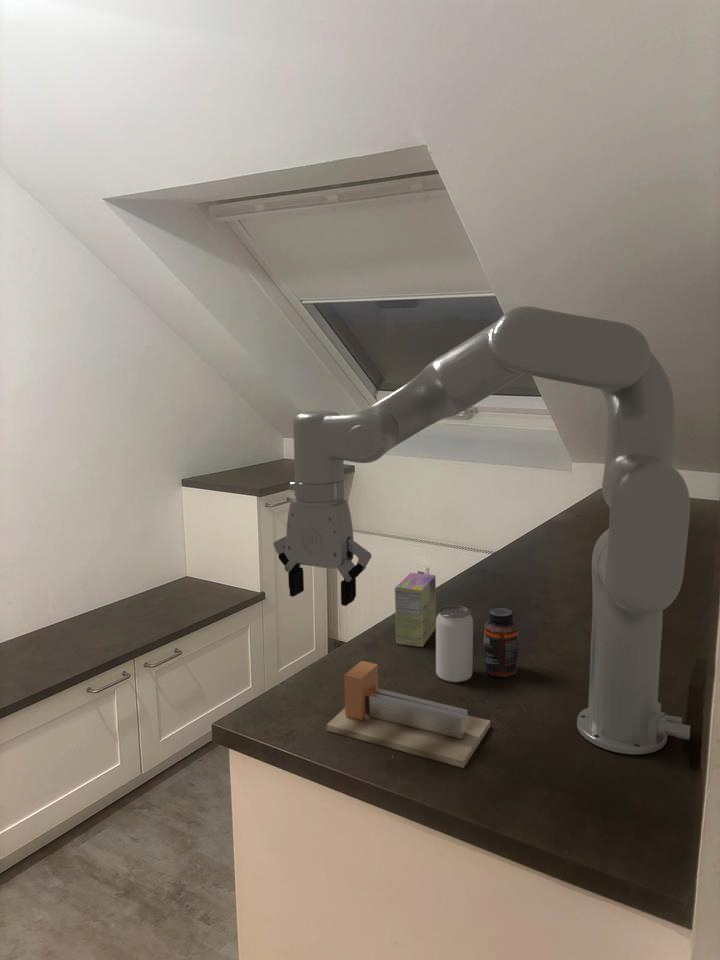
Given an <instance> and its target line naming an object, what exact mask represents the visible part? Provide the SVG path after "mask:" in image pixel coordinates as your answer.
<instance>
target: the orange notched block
mask: <svg viewBox="0 0 720 960" xmlns="http://www.w3.org/2000/svg"><path fill="white" fill-rule="evenodd" d="M343 677H344V678H343V679H344V680H343V681H344V682H343V683H344V708H345V716H348V717H352V718H355V719H359V720H363V719H364V718H365V696H369V695H370V694H371V693H372V692H373V693H374V691H375V690H376V689H377V688H379V664H377V663H373V662H369V661H363V660H361V661H359V662H358V663H356V664H355V666H353V667H352V668H351V669H350V670H348V671H347V672H346V673H345V674H344V676H343Z"/></svg>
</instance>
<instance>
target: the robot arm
mask: <svg viewBox="0 0 720 960" xmlns="http://www.w3.org/2000/svg"><path fill="white" fill-rule="evenodd" d="M526 375H528V376H533V377H537V378H542V379H546V380H549V381H550V380H552V381H557V382H563V383H568V384H572V385H579V386H582V387H589V388H594V389H597V390H600V391H601V393H602V395H603V397H604V399H605V402H606V406H607V417H608V418H607V439H606V440H607V441H606V450H605V458H604V459H605V460H604V469H603V478H602V484H601V488H602V489H601V490H602V491H601V493H602V496H603V498H604V501H605V504H606V505H607V506H608V508H609V524H608V528H607V530H605V531H604V532H603V533H602V534H601V535H600V536H599V537H598V539H597V540H596V542H595V544H594V547H593V551H592V554H591V578H592V579H591V582H592V587H591V588H592V616H591V617H592V618H591V631H590V632H591V633H590V634H591V635H590V637H591V638H590V639H591V640H590V660H589V680H588V681H589V682H588V683H589V687H588V707H586V708H584V709H583V710H581V711H580V712H579V713H578V715H577V718H576V727H577V730H578V732H579V733H580V735H581V736H583V738H584V739H585V740H587V741H588V742H589V743H591V744H593V745H595V746H597V747H599V748H602V749H604V750H606V751H611V752H614V753H618V754H619V753H620V754H624V755H646V754H648V755H649V754H652V753H655V752H657V751H659V750H661V749H663V747H665V746H666V744H667V740H668V736H672V737H675V738H678V739H683V740H688V741H690V738H691V737H690V735H691V725H689V724H688V725H687V724H683V717H680V716H676V715H675V716H674V715H668V714H665V712H663V711H661V708H662V704H661V702H658V698H659V684H660V682H659V679H660V665H661V648H662V638H663V637H662V636H663V615H664V614H663V611H664V610H665V609H667V608H668V607H669V606H671V604H673V602H674V601H675V600H676V599H677V597H678V594H679V592H680V590H681V587H682V583H683V579H684V575H685V574H684V573H685V564H686V557H687V547H688V537H689V536H688V535H689V525H690V514H691V500H690V494H689V488H688V485H687V483H686V480H685V479H684V478H683V476H682V474H681V473H680V472H679V470H677V469H676V468H675V467H674V466H673V449H674V432H675V431H674V426H675V400H674V393H673V389H672V385H671V382H670V379H669V378H668V375H667V373H666V371H665V369H664V368H663V366H662V365H661V363H660V361H659V360H658V359H657V358H656V356H655V355H654V354H653V353H652V352H651V349H650V345H649V343H648V341H647V338H646V337H645V336H644V334H642V332H641V331H639V329H637V328H636V327H634V326H632V325H630V324H628V323H624V322H620V321H614V320H608V319H607V320H606V319H601V318H595V317H591V316H584V315H578V314H577V315H576V314H571V313H565V312H560V311H555V310H549V309H546V308H539V307H536V306H535V307H534V306H524V305H523V306H518V307H515V308H512V309H510V310H509V311H507V312H505V313H504V314H503V315H502V316H501V317H500V318H499V319H498V320H497V321H495V322H493V323H492V324H490V325H488V326H487V327H485V328H484V329H482V330H480V331H479V332H477V333H476V334H473V336H471V337H469V338H468V339H466V340H465V341H463V342H462V343H460V344H459V345H457V346H455V347H454V348H452V349H450V350H448V351H447V352H445V353H444V354H441V356H439V357H437V358H435V359H433V361H431V362H430V363H429V364H427V365H426V366H425V367H424V368H423V369H422V370H421V371H420V372H419V374H418V375H416V376H415V377H414V378H412V379H411V380H410V381H409V382H407V383H406V384H404V385H402V386H401V387H399V388H398V389H397V390H395V391H393V392H392V393H390V394H389V395H387V396H386V397H384V398H382V399H380V400H379V401H377V402H376V403H374V404H372V405H371V406H369V407H367V408H365V409H362V410H360V411H357V412H353V413H352V412H351V413H347V414H339V413H338V412H336V411H329V410H310V411H309V410H308V411H307V410H306V411H302V412H299V413H297V415H295V417H294V419H293V426H292V427H293V456H294V458H293V459H294V461H293V463H294V481H290V483H289V485H288V488H289V490H290V491H293V492H294V497H295V498H293V499H291V500H290V502H289V508H288V511H287V512H288V513H287V521H286V530H285V531H286V535H284V537H282V538H279V539H278V540H276V541H274V542H273V547H274V549H275V552H276V554H278V559H279V561H280V562H281V563H282V565H283V566H284V570H285V572H286V573H287V575H288V577H287V578H288V588H289V596H290V597H292V598H294V597H296V596H297V595H299V594H301V593H302V592H304V590H305V588H304V587H305V586H304V583H305V582H304V569H303V567H301V566H302V565H303V566H304V565H305V566H310V567H316V568H317V567H318V568H323V569H330V570H335V569H337V571H338V572H339V574H340V575H341V576H342V578H343V580H341V581H340V604H341V605H342V606H344V607H347V606H348V605H349V604H352V603H353V602H355V599H356V597H357V578H358V577H359V575H360V574H361V573H362V572H364V571H365V569H366V568H367V565H368V564H369V562H370V560H371V559H372V554H371V552H370V551H368V550H367V549H366V548H364V547H363V546H361V545H360V544H359V543H357V541H355V540H354V530H353V522H352V516H351V510H350V506H349V503H348V500H346V499H345V481H344V479H345V477H344V475H345V471H344V468H345V467H344V466H345V465H344V461H346V462H352V463H359V464H369V463H372V462H375V461H378V460H379V459H381V458H382V457H383V456H384V455H386V453H387V452H389V451H390V450H391V449H393V448H395V447H397V446H398V445H399V444H402V443H403V442H404V441H407V440H408V439H410V438H412V437H413V436H414V435H416V434H418V433H420V432H421V431H423V430H424V429H426V428H428V427H430V426H431V425H434V424H436V423H437V422H439V421H442V420H444V419H447V418H451V417H454V416H458V415H459V414H462V413H463V412H465V411H467V410H469V409H470V408H472V407H473V406H475V405H476V404H478V403H479V402H481V401H483V400H485V399H486V398H488V397H490V396H491V395H493V394H495V393H496V392H499V391H500V390H502V389H503V388H505V387H507V386H508V385H510V384H512V383H514V382H515V381H517V380H519V379H521V378H522V377H524V376H526ZM354 555H355V556H356V557H357V562H356V564H354V563H353V559H354Z"/></svg>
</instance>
